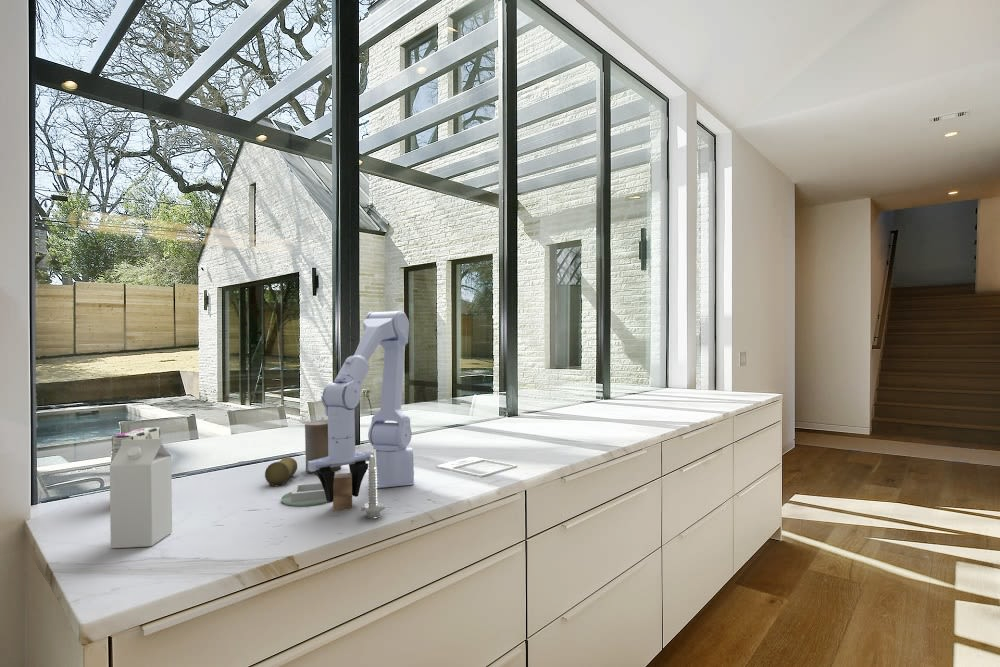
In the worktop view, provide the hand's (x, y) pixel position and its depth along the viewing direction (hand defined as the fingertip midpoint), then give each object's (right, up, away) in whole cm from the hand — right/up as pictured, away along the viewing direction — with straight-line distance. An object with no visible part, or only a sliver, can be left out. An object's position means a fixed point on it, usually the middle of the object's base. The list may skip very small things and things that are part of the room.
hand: (342, 498), depth 118 cm
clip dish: (-10, -2, +8) cm, 12 cm away
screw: (+8, -2, -7) cm, 11 cm away
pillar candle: (-16, -3, +35) cm, 38 cm away
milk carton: (-32, -3, -18) cm, 37 cm away
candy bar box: (-50, -3, +8) cm, 51 cm away
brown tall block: (0, -2, 0) cm, 2 cm away
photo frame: (+28, -2, +35) cm, 45 cm away
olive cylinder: (-22, 0, +18) cm, 29 cm away
